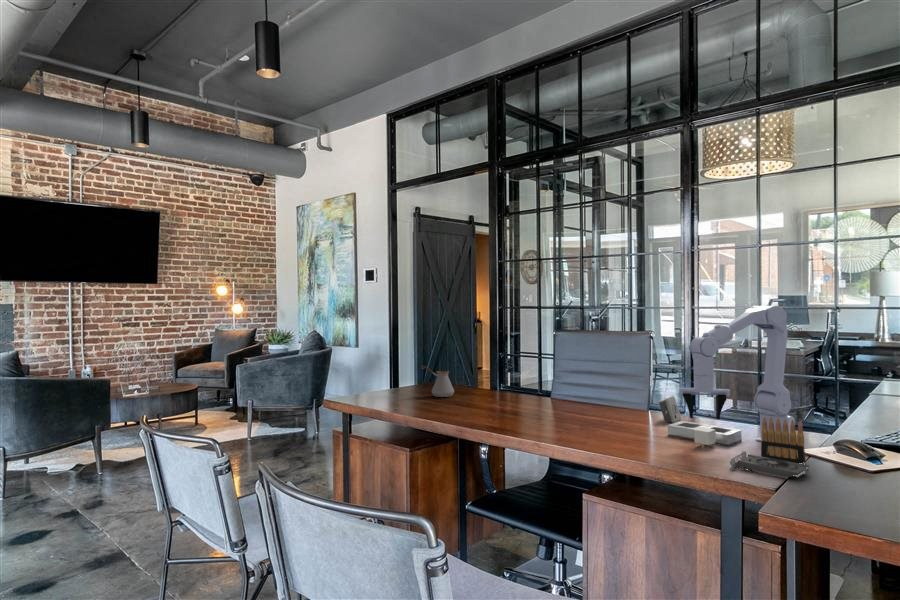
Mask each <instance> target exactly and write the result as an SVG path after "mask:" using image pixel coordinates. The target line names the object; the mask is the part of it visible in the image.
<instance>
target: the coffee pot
mask: <svg viewBox="0 0 900 600" xmlns="http://www.w3.org/2000/svg"><path fill="white" fill-rule="evenodd" d="M421 369H422V370H427V372H429V373H431V374H433V376H435V377H436V379H435V382H434V385H433V386H432V389H431V394H432V395H433V396H434V397H435V396H436V397H449V396H451V397H452V396H453V395H454V393H455V389H454V387H453V385H452V382H451V380H450V378H449V373H450V371H449V370H438V371H436V373H435V372H434V371H433V370H431V368H428V367H427V366H425V365H422V366H421ZM436 397H435V398H436Z"/></svg>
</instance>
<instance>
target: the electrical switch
mask: <svg viewBox="0 0 900 600" xmlns="http://www.w3.org/2000/svg"><path fill="white" fill-rule="evenodd" d="M677 403H678V402H677V400H676V397H675V396H674V395H670V396H669V397H666V398H665V399H663V400H661V401H659V402H658V404H659V407H660V410H661V414H662V417H663V420H664V423H669V422H670V423H671V424H673V423H677V422H680V420H682V415H681V412H680V410H679V406H678V404H677Z"/></svg>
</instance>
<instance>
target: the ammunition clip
mask: <svg viewBox="0 0 900 600" xmlns="http://www.w3.org/2000/svg"><path fill="white" fill-rule="evenodd" d="M803 429H804V427H803V422H802V420H799V421H798V425H797V432H796V422H795V423H794V421H793V420H792V421H791V426H790V443H789V433H788V424H787V421H786V419H785V420H784V422H783V433H781V424H780V420H779V418H778V419H777V421H776V432H774V424H773V419H772V418H770V421H769V432H768V431H767V422H766V418H765V417H764V418H763V421H762V441H761V446H760V447H761V448H760V456H762V457H767V458H772V459H778V460H783V461H788V462H793V463H803V462H806V452H805V436H804V430H803Z"/></svg>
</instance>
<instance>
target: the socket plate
mask: <svg viewBox="0 0 900 600" xmlns="http://www.w3.org/2000/svg"><path fill="white" fill-rule="evenodd" d="M701 427H702V428H709V429H715V431H716V442H715V444H714V445H718V444H720V446H724V445H725V447H730V446H732V444H733V445H736V444H737V442H738V443H740V442H742V438H743V436H742V429H737V428H730V427H723V426H717V425H711V424H704V423H698V422H692V421H685V420H681V421H680V420H679V421H677V422H675V423H671V424H670V423H669V424H668V425H667V436H668V435H670V436H669V437H674V436H675V438H679V437H680V439H685V438H686V440H691V441H694V430H695V429H698V428H701Z"/></svg>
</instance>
